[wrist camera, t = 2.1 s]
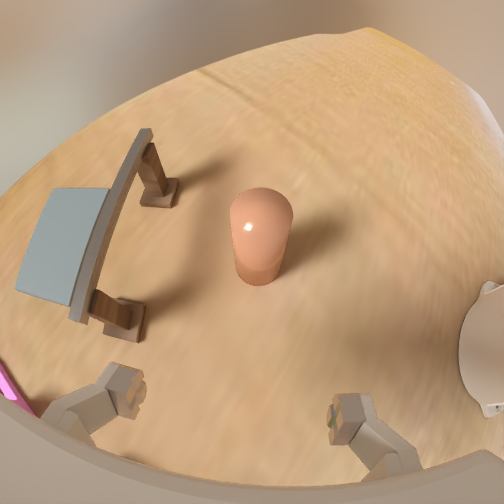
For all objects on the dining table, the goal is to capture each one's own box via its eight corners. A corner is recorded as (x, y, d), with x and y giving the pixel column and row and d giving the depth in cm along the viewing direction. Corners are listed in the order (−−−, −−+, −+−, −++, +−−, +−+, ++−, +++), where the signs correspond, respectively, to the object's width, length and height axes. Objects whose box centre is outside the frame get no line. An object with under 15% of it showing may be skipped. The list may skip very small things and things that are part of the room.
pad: (111, 192, 34) (108, 188, 33) (72, 307, 27) (68, 305, 26) (55, 191, 34) (53, 188, 33) (17, 290, 27) (14, 288, 27)
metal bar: (153, 136, 27) (150, 128, 26) (87, 325, 18) (79, 321, 17) (143, 136, 27) (140, 128, 26) (76, 321, 19) (68, 318, 17)
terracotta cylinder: (281, 247, 30) (294, 191, 21) (277, 288, 28) (291, 244, 19) (238, 243, 31) (234, 185, 21) (232, 283, 29) (225, 236, 20)
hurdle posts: (179, 182, 34) (165, 136, 27) (138, 343, 26) (101, 329, 18) (150, 181, 34) (132, 137, 27) (106, 334, 26) (63, 318, 19)
